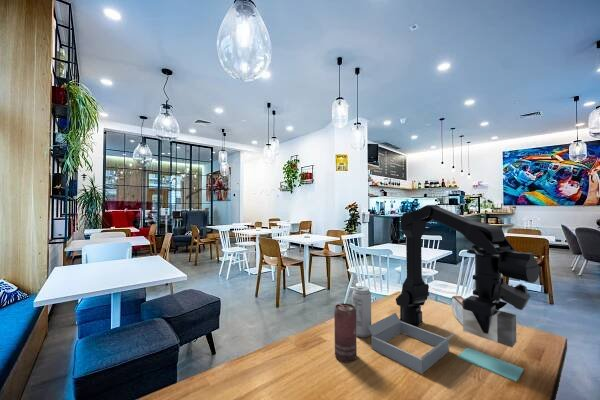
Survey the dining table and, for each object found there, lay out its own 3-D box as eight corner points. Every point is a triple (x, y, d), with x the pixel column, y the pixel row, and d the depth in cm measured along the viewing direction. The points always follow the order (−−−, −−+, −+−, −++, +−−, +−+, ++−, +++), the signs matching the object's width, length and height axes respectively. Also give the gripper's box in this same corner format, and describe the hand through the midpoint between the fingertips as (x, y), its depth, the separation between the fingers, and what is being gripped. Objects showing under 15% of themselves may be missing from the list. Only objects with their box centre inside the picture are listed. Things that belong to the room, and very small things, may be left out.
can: (342, 347, 79) (342, 300, 80) (360, 356, 75) (360, 306, 75) (329, 355, 75) (329, 306, 75) (348, 365, 71) (347, 312, 71)
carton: (366, 346, 80) (366, 326, 80) (395, 329, 90) (395, 312, 90) (428, 377, 66) (428, 353, 66) (455, 353, 76) (455, 332, 76)
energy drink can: (374, 336, 86) (374, 290, 86) (357, 339, 84) (357, 292, 84) (366, 328, 91) (365, 284, 92) (349, 330, 90) (349, 286, 90)
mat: (457, 357, 74) (457, 356, 74) (467, 348, 78) (467, 347, 78) (516, 381, 64) (516, 380, 64) (523, 370, 68) (523, 368, 68)
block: (463, 330, 74) (462, 305, 74) (468, 326, 77) (468, 302, 77) (512, 347, 66) (511, 319, 66) (516, 342, 68) (516, 314, 68)
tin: (476, 333, 87) (476, 307, 87) (466, 332, 88) (465, 307, 88) (459, 314, 102) (458, 292, 102) (450, 313, 103) (449, 292, 103)
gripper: (516, 287, 59) (517, 357, 59) (534, 272, 71) (535, 331, 71) (461, 276, 68) (462, 337, 68) (485, 264, 80) (486, 317, 79)
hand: (488, 330), depth 71 cm, fingers closed on block, 4 cm apart
